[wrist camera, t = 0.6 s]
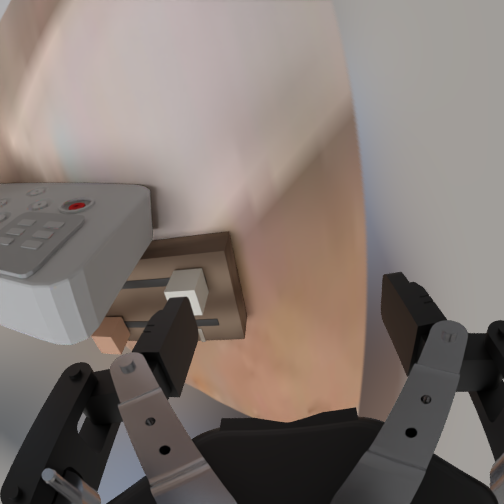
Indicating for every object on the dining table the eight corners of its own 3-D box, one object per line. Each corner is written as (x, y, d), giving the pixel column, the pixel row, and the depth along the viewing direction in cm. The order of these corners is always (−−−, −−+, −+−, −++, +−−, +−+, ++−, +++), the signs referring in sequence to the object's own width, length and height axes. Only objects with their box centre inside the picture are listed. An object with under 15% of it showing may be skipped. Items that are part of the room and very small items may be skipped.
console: (79, 249, 35) (63, 267, 31) (229, 230, 32) (223, 250, 29) (113, 321, 41) (102, 340, 38) (247, 316, 39) (244, 339, 35)
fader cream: (173, 270, 30) (163, 292, 27) (201, 268, 30) (194, 290, 27) (181, 294, 32) (173, 316, 29) (208, 292, 31) (202, 315, 28)
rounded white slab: (157, 163, 29) (51, 258, 14) (159, 230, 33) (85, 354, 18) (-16, 169, 29) (-106, 228, 14) (-6, 216, 33) (-84, 285, 18)
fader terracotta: (102, 317, 35) (91, 336, 32) (121, 316, 34) (110, 337, 31) (111, 333, 36) (102, 353, 33) (130, 334, 36) (121, 354, 33)
